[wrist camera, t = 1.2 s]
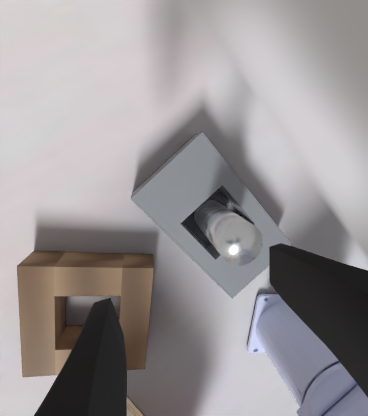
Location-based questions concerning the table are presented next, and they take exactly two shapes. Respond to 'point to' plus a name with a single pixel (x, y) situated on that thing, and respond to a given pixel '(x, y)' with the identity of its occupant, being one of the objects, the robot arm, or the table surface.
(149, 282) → the walnut seat block
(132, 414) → the coffeecake box
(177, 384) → the table surface
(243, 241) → the metal axle
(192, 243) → the bored beam
